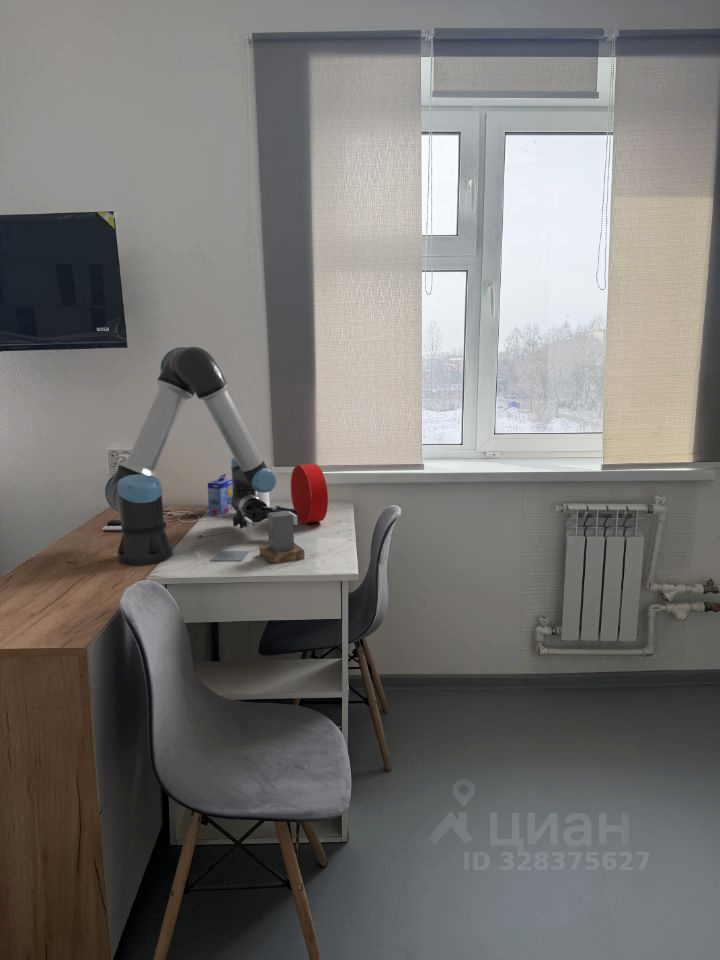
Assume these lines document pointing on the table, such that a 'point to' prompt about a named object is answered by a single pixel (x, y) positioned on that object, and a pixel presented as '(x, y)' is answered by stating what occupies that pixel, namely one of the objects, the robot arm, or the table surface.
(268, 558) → the socket block
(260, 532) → the table surface
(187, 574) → the table surface
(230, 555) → the mat
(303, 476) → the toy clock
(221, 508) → the ink cartridge box
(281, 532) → the plug
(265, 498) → the mug
